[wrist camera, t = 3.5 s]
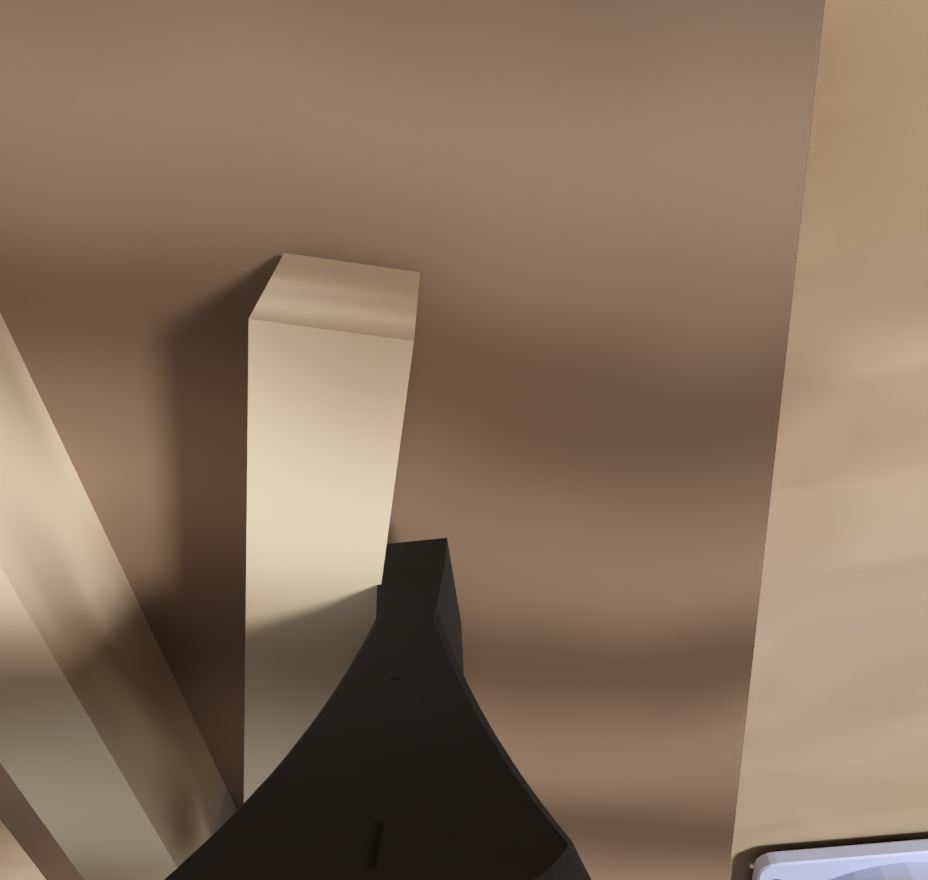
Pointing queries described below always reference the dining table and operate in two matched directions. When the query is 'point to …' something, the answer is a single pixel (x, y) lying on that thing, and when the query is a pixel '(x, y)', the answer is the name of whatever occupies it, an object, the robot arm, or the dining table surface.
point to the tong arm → (317, 484)
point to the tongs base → (429, 388)
